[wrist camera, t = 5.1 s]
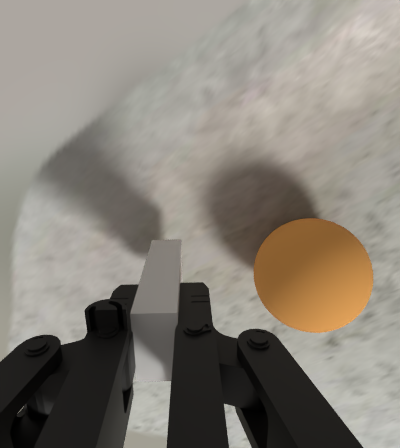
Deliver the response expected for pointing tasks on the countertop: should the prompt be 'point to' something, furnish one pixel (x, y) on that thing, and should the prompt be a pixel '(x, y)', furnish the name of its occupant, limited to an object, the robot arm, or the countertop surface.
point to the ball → (313, 275)
